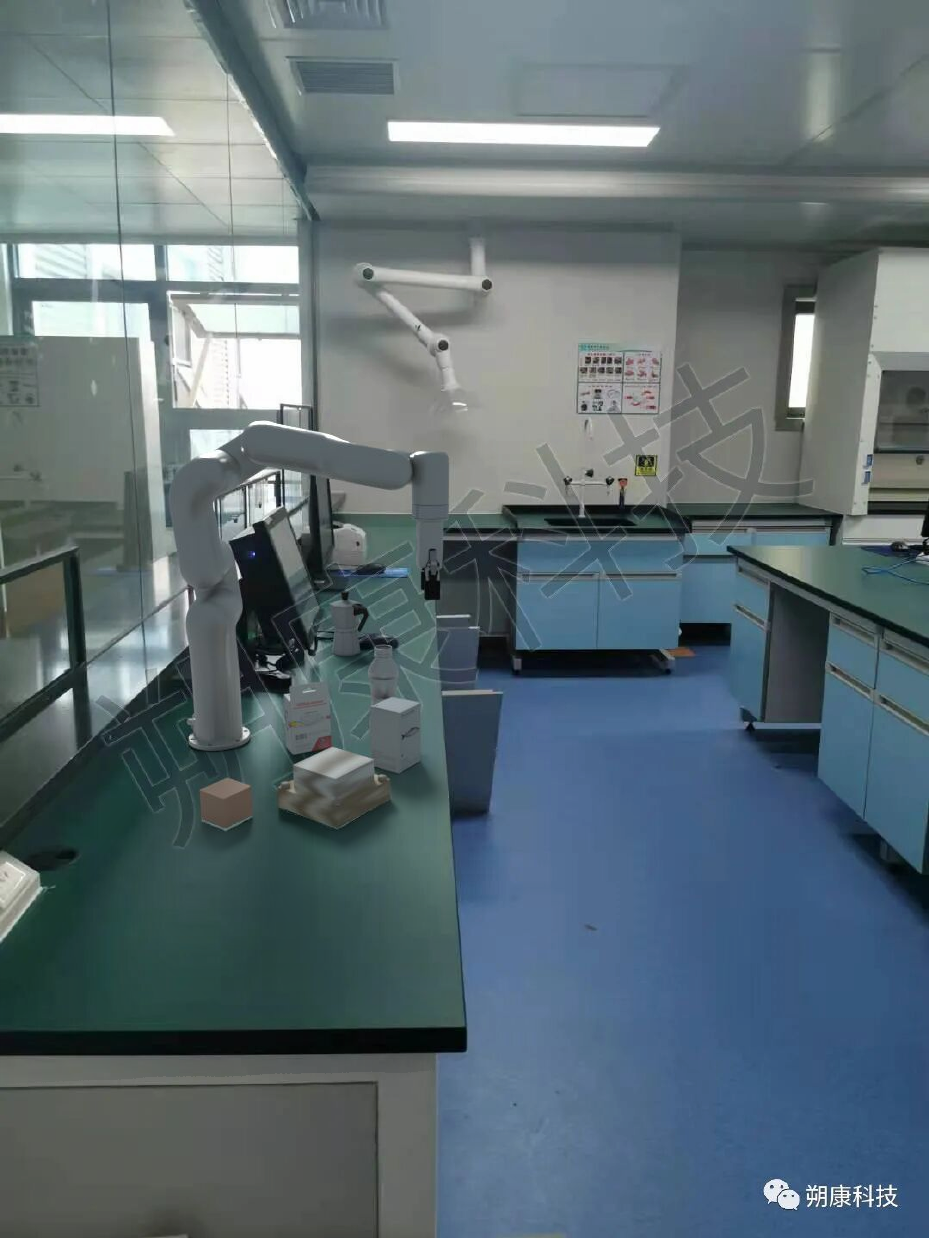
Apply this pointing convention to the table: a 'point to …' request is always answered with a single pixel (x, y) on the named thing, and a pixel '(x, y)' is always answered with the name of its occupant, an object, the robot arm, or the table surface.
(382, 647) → the plastic bottle
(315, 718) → the ink cartridge box
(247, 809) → the tan cube
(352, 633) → the coffee maker
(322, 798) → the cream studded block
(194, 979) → the table surface
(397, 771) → the supplement box
